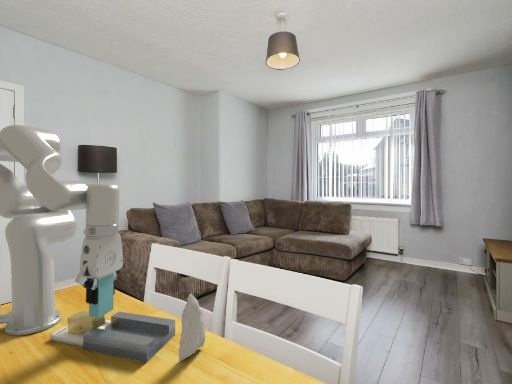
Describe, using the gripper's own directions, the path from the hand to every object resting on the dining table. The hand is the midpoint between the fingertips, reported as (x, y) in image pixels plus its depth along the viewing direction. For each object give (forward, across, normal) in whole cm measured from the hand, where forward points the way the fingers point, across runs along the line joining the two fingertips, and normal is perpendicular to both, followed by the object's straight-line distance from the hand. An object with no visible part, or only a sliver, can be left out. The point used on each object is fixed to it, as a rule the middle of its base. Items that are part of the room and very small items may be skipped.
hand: (100, 298), depth 73 cm
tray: (+11, 0, +5) cm, 12 cm away
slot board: (+10, 0, -10) cm, 14 cm away
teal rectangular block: (+4, 0, 0) cm, 4 cm away
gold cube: (+8, 0, +2) cm, 9 cm away
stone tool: (+9, -1, -28) cm, 29 cm away
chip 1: (+10, 0, +6) cm, 12 cm away
